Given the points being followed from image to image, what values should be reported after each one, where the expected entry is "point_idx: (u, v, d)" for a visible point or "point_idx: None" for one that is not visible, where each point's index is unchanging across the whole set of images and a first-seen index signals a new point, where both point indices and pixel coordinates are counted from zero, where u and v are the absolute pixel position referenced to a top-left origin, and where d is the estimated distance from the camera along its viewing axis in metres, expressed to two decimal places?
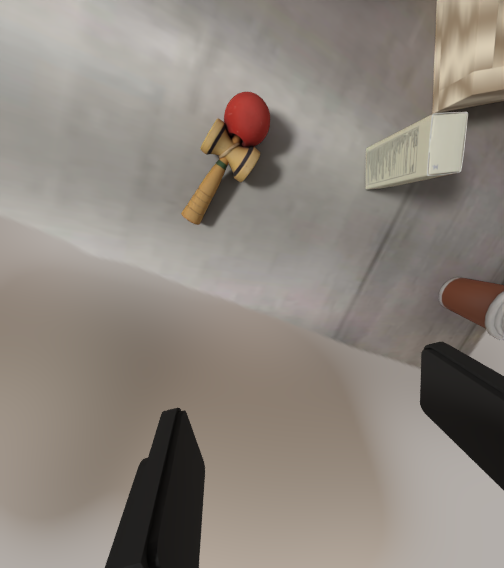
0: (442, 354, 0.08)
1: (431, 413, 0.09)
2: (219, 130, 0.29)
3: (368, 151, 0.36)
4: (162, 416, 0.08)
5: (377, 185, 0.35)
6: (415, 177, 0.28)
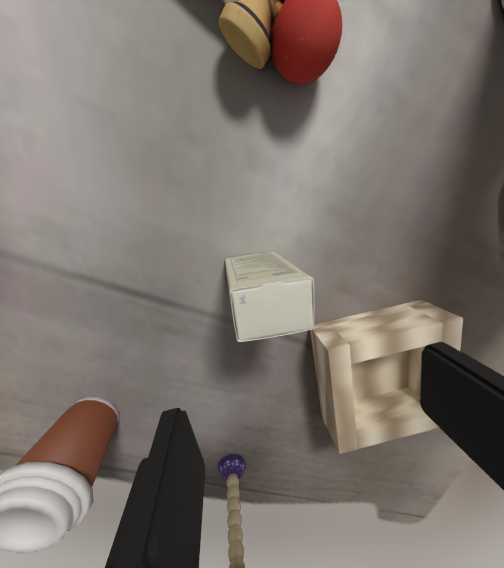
0: (442, 355, 0.08)
1: (432, 413, 0.09)
2: None
3: (270, 252, 0.28)
4: (162, 416, 0.08)
5: (227, 263, 0.25)
6: (230, 283, 0.18)
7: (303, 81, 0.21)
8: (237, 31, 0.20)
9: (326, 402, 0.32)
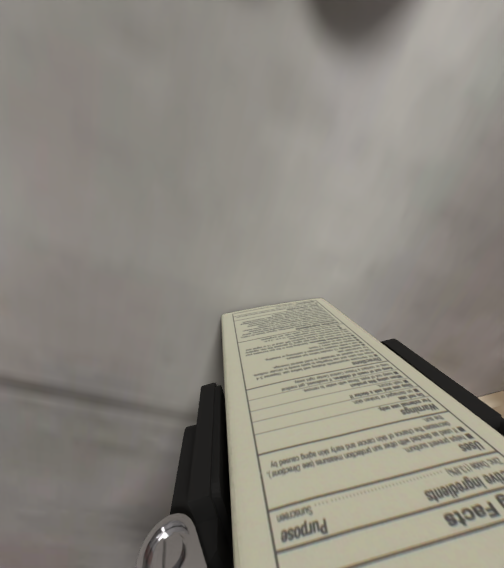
0: (393, 350, 0.09)
1: None
2: None
3: (317, 301, 0.13)
4: (202, 390, 0.09)
5: (226, 341, 0.10)
6: None
7: None
8: None
9: None
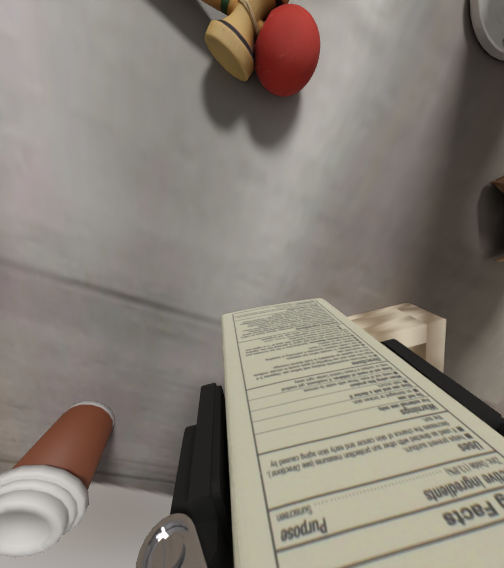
0: (392, 350, 0.09)
1: None
2: None
3: (317, 301, 0.13)
4: (202, 390, 0.09)
5: (227, 341, 0.10)
6: None
7: (285, 94, 0.22)
8: (222, 46, 0.22)
9: None
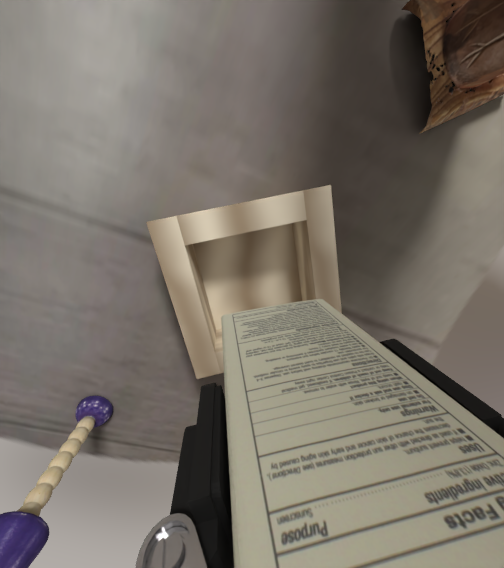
0: (392, 350, 0.09)
1: None
2: None
3: (317, 302, 0.13)
4: (202, 390, 0.09)
5: (227, 342, 0.10)
6: None
7: None
8: None
9: None
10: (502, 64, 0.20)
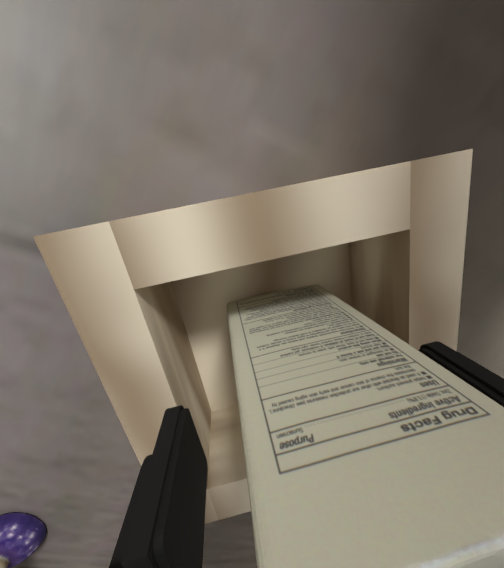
0: (438, 354, 0.08)
1: None
2: None
3: (313, 287, 0.14)
4: (166, 414, 0.08)
5: (232, 324, 0.12)
6: (253, 482, 0.05)
7: None
8: None
9: None
10: None
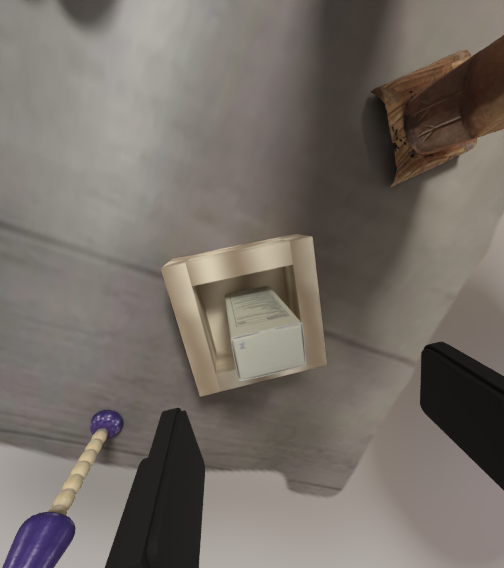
0: (442, 354, 0.08)
1: (431, 413, 0.09)
2: None
3: (265, 287, 0.30)
4: (162, 416, 0.08)
5: (227, 301, 0.27)
6: (230, 328, 0.20)
7: None
8: None
9: None
10: (449, 142, 0.25)
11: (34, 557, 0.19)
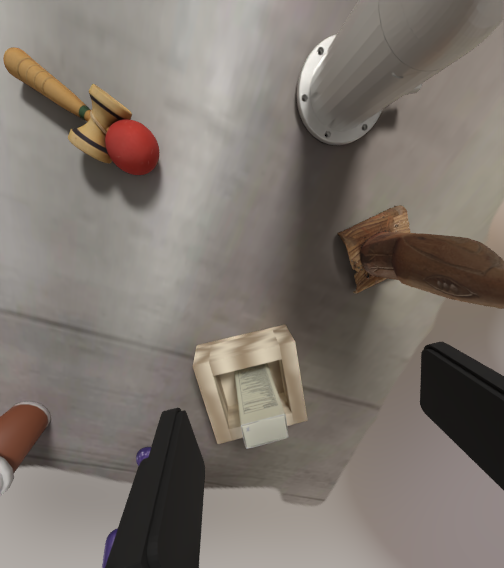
0: (442, 354, 0.08)
1: (432, 413, 0.09)
2: (106, 106, 0.26)
3: None
4: (162, 416, 0.08)
5: (236, 380, 0.39)
6: (240, 415, 0.32)
7: (137, 174, 0.30)
8: None
9: None
10: (389, 277, 0.36)
11: None
